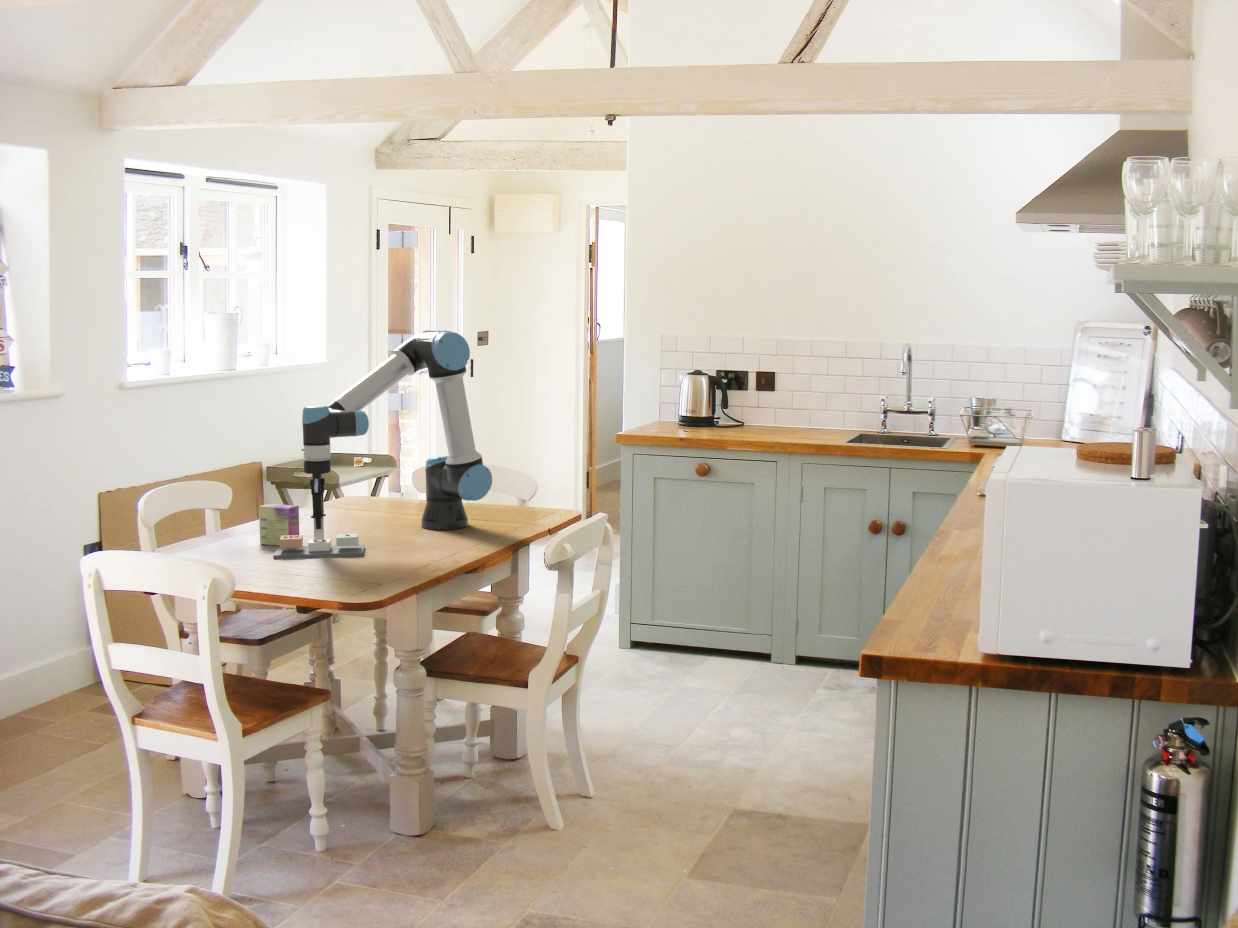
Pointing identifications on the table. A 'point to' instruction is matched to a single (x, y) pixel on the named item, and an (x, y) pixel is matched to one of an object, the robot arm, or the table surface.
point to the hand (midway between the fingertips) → (319, 539)
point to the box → (277, 522)
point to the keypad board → (319, 552)
